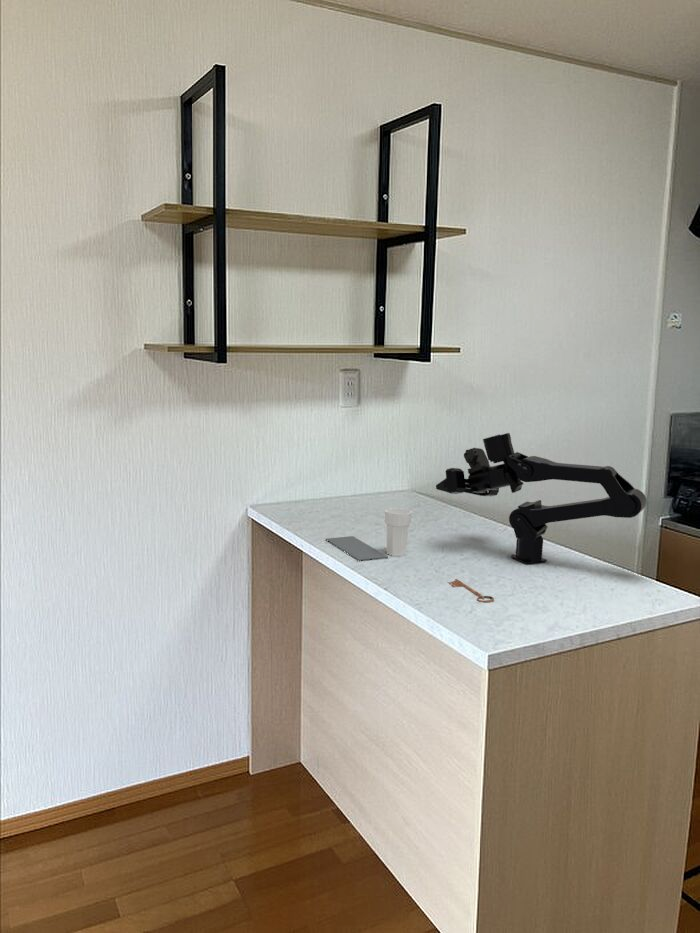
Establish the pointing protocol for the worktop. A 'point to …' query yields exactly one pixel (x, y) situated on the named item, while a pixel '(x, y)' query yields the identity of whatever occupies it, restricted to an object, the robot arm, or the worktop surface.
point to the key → (471, 591)
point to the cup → (397, 530)
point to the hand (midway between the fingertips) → (447, 488)
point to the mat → (356, 548)
